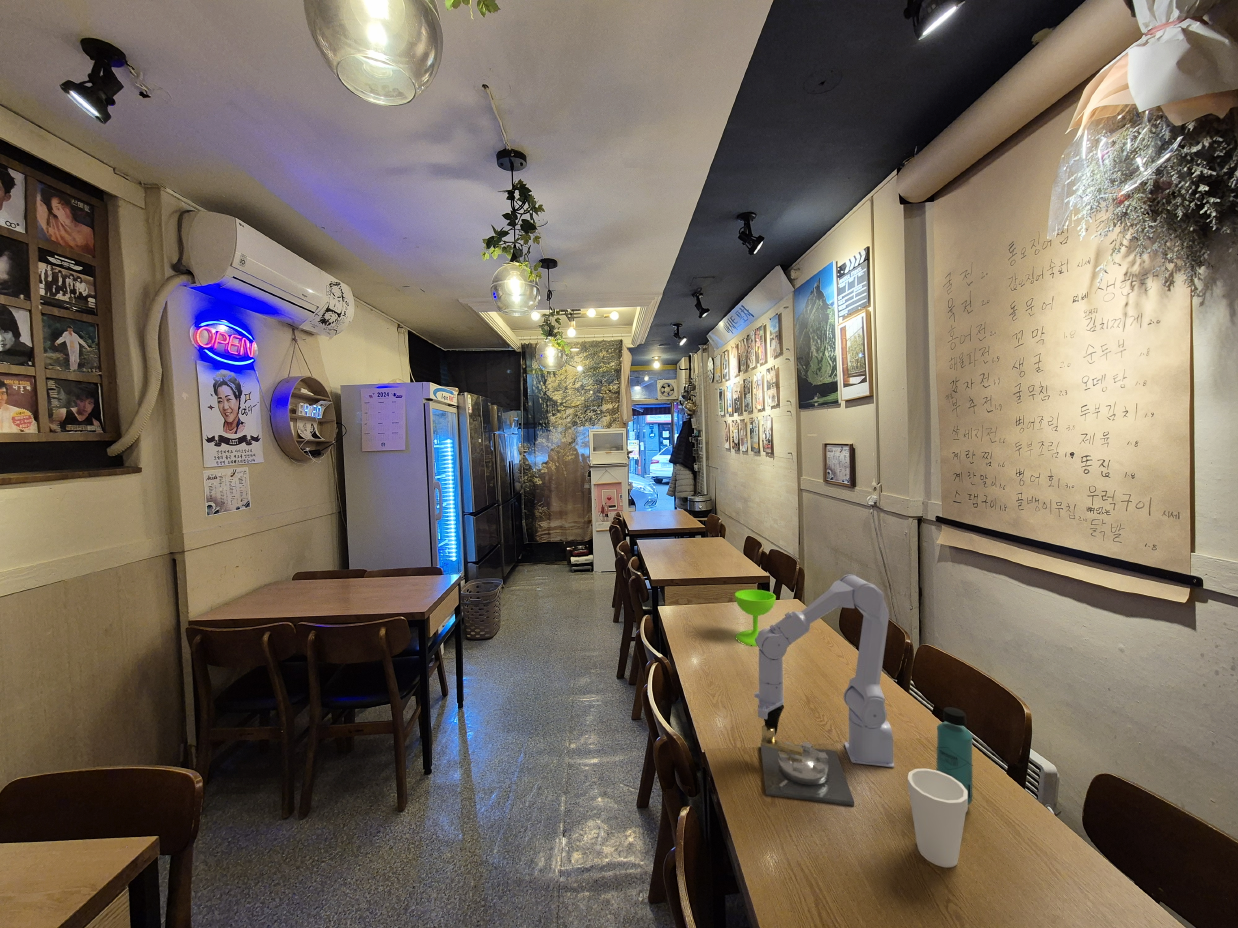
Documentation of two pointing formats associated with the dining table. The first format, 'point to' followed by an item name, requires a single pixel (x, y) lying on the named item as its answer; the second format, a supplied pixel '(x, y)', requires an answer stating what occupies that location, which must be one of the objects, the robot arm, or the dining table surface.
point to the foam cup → (937, 814)
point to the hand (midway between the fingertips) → (771, 733)
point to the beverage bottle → (955, 748)
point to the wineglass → (753, 610)
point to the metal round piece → (797, 759)
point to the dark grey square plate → (826, 792)
